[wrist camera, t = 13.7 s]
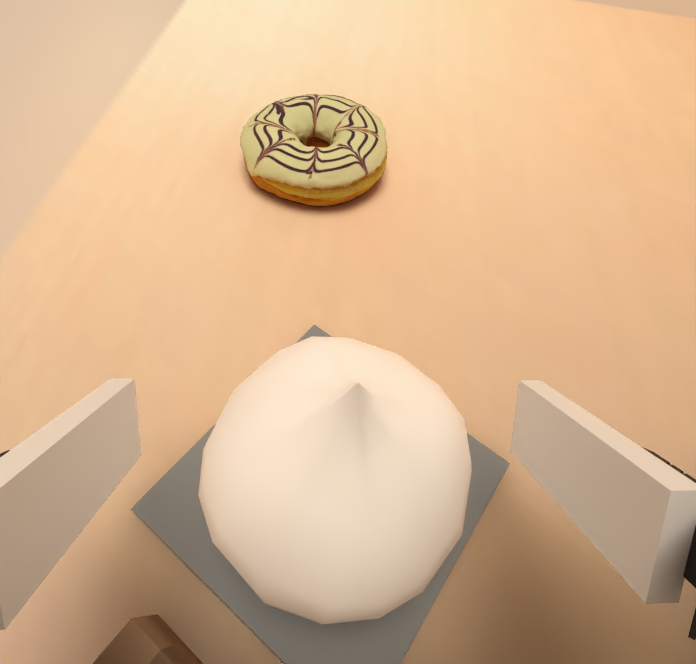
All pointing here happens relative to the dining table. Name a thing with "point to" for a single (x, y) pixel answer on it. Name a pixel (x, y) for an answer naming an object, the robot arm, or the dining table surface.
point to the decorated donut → (315, 149)
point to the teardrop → (336, 480)
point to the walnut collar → (147, 645)
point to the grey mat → (278, 625)
